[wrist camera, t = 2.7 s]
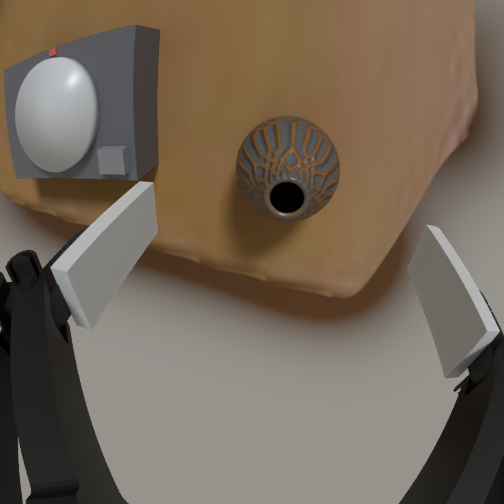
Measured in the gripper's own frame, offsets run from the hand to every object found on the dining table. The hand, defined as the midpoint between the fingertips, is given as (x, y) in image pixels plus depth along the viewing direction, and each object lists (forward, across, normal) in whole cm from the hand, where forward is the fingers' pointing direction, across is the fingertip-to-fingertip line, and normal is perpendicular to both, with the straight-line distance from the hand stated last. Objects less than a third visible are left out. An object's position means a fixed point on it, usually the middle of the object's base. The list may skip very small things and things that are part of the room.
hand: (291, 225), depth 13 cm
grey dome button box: (+11, -19, +4) cm, 23 cm away
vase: (+11, 0, 0) cm, 11 cm away
